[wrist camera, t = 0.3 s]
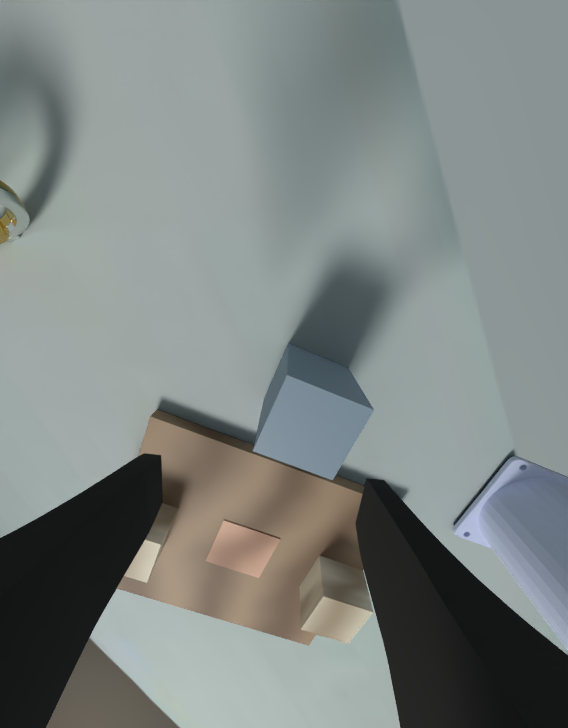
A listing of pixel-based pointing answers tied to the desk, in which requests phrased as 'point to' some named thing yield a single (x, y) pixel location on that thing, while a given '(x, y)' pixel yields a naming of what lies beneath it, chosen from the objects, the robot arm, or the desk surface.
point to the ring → (12, 215)
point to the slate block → (311, 413)
